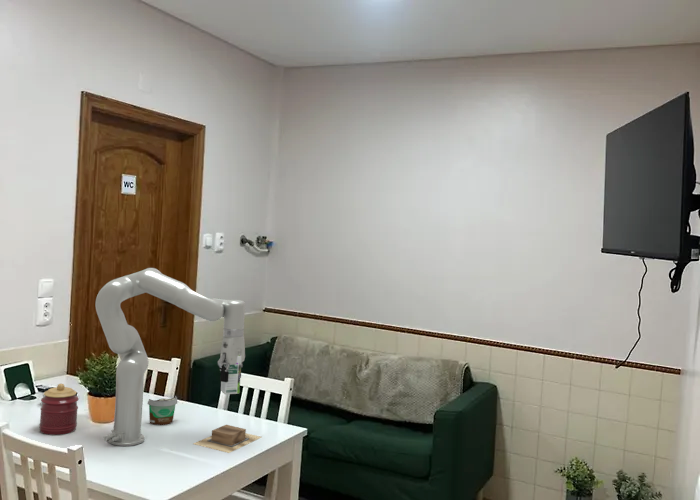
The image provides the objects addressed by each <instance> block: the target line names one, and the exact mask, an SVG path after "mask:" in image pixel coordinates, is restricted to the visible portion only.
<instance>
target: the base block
mask: <svg viewBox="0 0 700 500" xmlns="http://www.w3.org/2000/svg"><path fill="white" fill-rule="evenodd" d="M246 432H247V429H246V428H243V427H239V426H234V425H229V424H224V425H222V426H219V427H216V428H215V429H213V430H211V436H212V438H211V441H214V442H218V443H222V444H226V445H230V446H232V445H235V444H237V443H239V442H241V441H243V440H245V434H246Z"/></svg>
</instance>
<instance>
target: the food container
mask: <svg viewBox="0 0 700 500" xmlns="http://www.w3.org/2000/svg"><path fill="white" fill-rule="evenodd" d="M176 404H177V405H178V397H177V395H175V396H174V397H172V398H160V399H155V400H154V399H152V398H151V399H150V398H149V399H148V401H147V405H148V411H149V416H148V417H149V418H148V419H149V424H150V425H154V426H167V425H171V424H173V421H174V417H175V416H174V415H175V411H176Z"/></svg>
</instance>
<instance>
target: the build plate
mask: <svg viewBox="0 0 700 500" xmlns="http://www.w3.org/2000/svg"><path fill="white" fill-rule="evenodd" d="M211 438H212V435H210V436H208V437H206V438H203V439H201V440H198V441H196V442H194V443H192V445H195V446H198V447H203V448H204V447H205V448H208V449H212V450H215V451H219V452H223V453H227V454H230V453H232V452H235V451H236V450H238V449H240V448H242V447H244V446H247V445H249V444H251V443H253V442H255V441H257V440H260V439H261V438H262V436H259V435H255V434H251V433H246V434H245V440H243V441H241V442H239V443H237V444H235V445H232V446H230V445H226V444H222V443H218V442H214V441H211Z"/></svg>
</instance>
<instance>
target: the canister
mask: <svg viewBox="0 0 700 500" xmlns="http://www.w3.org/2000/svg"><path fill="white" fill-rule="evenodd" d="M43 393H44V395H45V397H43V396H42V398H41V399H40V401H41V403H42V404H41V407H40V418H39V419H40V420H39V425H38V426H39V432H40V433H42V434H44V435H52V436H53V435H54V436H59V435H66V434H71V433H73V432H75V431H76V430H77V425H78V422H77V421H78V409H79V406H78V401H79V397H78V396H77V391H76V390H74V389H73V388H72V387H67V386H65V384H64V383H58V384H57V386H56V387H51V388H49V389H48V390H45V391H44V392H43Z"/></svg>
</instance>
